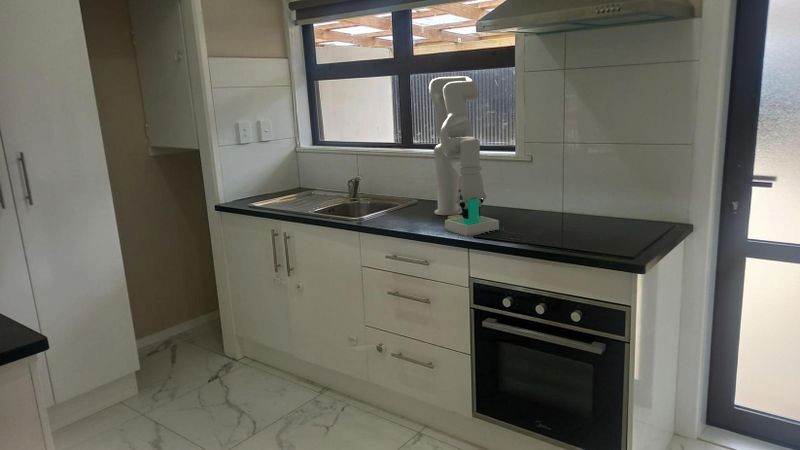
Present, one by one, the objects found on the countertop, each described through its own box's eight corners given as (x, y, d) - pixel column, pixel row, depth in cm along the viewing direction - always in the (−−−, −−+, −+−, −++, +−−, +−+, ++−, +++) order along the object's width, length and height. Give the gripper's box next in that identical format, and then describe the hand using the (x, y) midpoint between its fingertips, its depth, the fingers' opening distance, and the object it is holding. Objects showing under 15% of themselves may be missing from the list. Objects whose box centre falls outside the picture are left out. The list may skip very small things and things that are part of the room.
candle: (482, 223, 229) (481, 193, 227) (472, 226, 225) (472, 195, 223) (470, 221, 233) (469, 192, 231) (460, 224, 229) (459, 194, 227)
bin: (475, 224, 240) (475, 214, 239) (498, 230, 227) (498, 220, 226) (445, 229, 232) (444, 219, 232) (467, 236, 220) (467, 226, 219)
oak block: (458, 224, 243) (457, 214, 242) (465, 226, 238) (464, 216, 237) (448, 225, 240) (447, 216, 239) (454, 227, 236) (454, 218, 235)
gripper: (481, 168, 232) (482, 213, 236) (446, 172, 224) (447, 219, 228) (493, 169, 226) (494, 215, 230) (457, 174, 218) (459, 222, 221)
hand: (471, 216), depth 229 cm, fingers closed on candle, 4 cm apart
